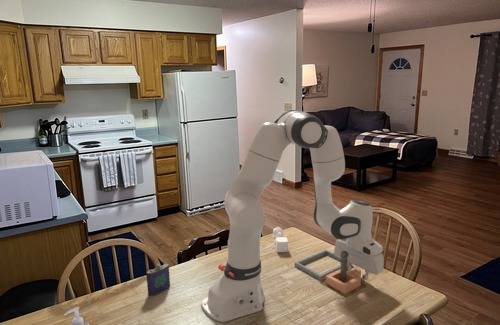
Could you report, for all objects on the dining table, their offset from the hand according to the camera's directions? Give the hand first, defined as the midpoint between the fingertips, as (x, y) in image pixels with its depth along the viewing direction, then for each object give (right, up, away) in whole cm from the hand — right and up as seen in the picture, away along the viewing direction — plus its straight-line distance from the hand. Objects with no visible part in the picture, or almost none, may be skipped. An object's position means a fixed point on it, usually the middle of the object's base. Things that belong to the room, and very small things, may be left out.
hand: (356, 275), depth 140 cm
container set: (-27, +5, +33) cm, 43 cm away
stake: (-6, -3, -4) cm, 8 cm away
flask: (-74, -4, -5) cm, 75 cm away
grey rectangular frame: (-11, 0, +10) cm, 14 cm away
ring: (-4, -2, -3) cm, 6 cm away
